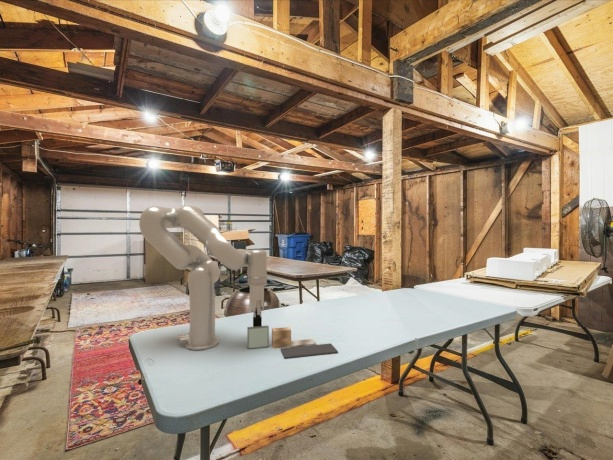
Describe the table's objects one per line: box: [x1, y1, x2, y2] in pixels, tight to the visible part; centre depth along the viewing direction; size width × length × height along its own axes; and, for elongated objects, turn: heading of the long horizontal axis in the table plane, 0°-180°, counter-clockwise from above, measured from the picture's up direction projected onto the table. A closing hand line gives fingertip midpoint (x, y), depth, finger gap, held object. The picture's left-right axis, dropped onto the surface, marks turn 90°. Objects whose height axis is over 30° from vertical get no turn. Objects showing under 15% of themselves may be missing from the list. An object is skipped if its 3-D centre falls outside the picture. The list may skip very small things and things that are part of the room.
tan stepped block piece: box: [271, 326, 317, 349], centre depth 119 cm, size 17×5×6 cm, turn 105°
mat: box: [280, 343, 339, 360], centre depth 113 cm, size 20×8×1 cm, turn 105°
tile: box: [246, 324, 270, 350], centre depth 116 cm, size 8×2×8 cm, turn 105°
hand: (257, 326), depth 120 cm, fingers closed
